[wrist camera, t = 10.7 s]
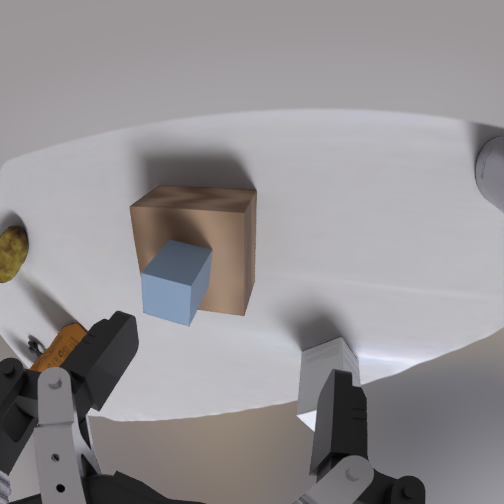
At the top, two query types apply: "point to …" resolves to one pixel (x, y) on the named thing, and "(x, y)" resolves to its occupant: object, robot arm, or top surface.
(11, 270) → the potato
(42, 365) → the coffee package
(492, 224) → the top surface
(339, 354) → the supplement box
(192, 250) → the slate block
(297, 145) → the top surface
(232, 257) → the walnut box
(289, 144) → the top surface
